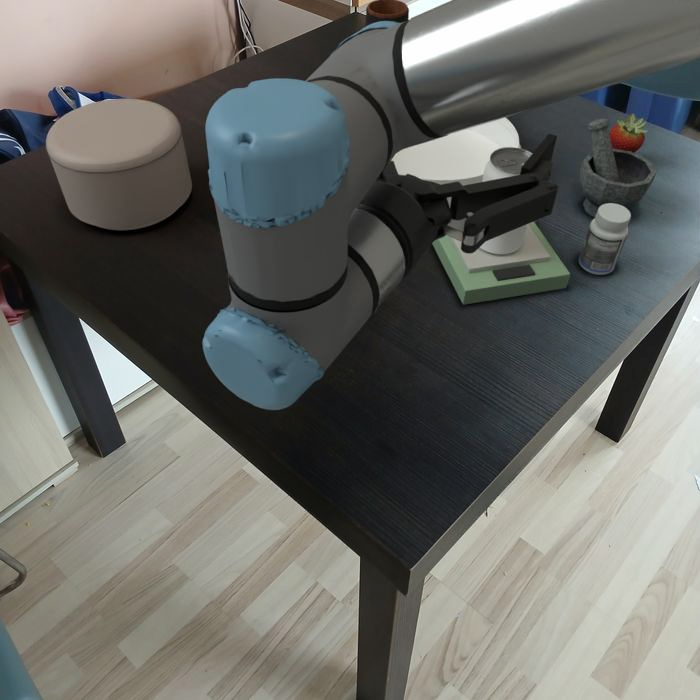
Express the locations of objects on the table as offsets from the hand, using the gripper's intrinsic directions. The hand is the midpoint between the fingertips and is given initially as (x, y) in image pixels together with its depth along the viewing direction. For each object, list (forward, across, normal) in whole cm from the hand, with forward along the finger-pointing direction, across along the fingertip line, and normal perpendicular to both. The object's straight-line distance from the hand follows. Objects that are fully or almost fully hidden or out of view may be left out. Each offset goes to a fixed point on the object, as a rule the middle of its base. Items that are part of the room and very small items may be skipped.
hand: (481, 128), depth 63 cm
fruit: (+46, +7, -25) cm, 53 cm away
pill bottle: (+19, +12, -25) cm, 34 cm away
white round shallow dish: (+29, -18, -25) cm, 43 cm away
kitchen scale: (+13, 0, -25) cm, 28 cm away
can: (+13, 0, -22) cm, 26 cm away
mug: (+52, -40, -25) cm, 71 cm away
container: (-3, -51, -25) cm, 57 cm away
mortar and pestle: (+33, +8, -25) cm, 42 cm away
